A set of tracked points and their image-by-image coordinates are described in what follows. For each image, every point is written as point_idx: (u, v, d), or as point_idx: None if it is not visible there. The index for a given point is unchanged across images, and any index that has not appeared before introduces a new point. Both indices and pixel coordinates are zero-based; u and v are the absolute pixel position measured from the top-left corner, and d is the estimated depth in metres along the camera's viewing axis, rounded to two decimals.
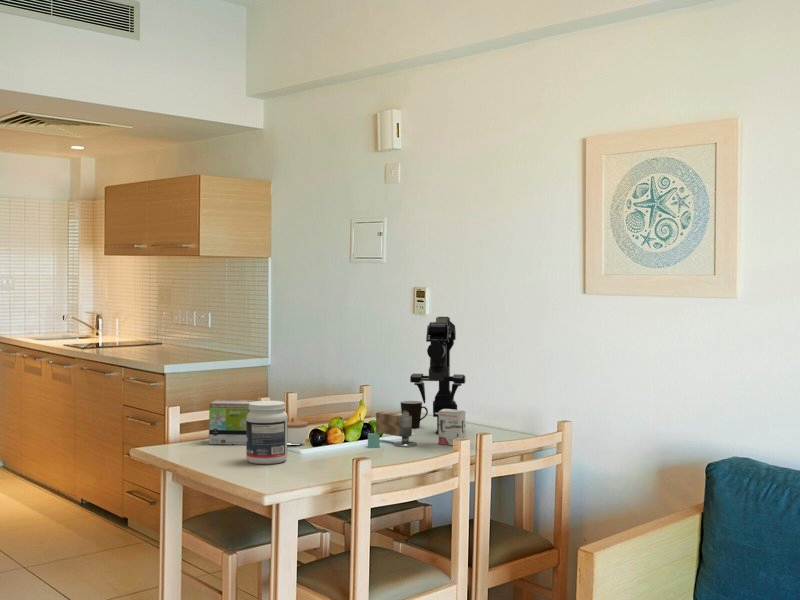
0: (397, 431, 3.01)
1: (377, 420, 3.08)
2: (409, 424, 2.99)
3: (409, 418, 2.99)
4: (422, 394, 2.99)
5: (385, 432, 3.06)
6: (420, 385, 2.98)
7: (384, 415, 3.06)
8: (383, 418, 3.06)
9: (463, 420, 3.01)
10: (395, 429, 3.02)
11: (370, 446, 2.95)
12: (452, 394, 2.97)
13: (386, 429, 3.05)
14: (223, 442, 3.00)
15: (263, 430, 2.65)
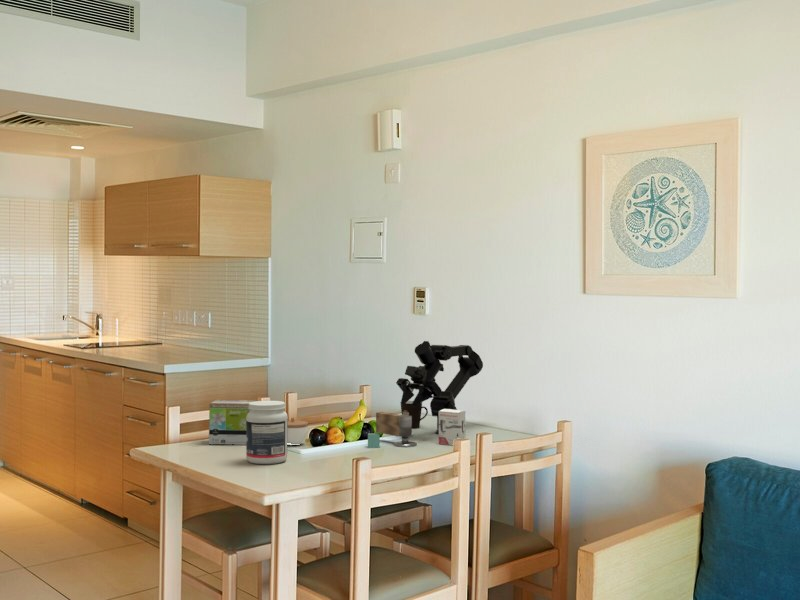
0: (397, 431, 3.01)
1: (377, 420, 3.08)
2: (409, 424, 2.99)
3: (409, 418, 2.99)
4: (403, 395, 3.14)
5: (385, 432, 3.06)
6: (404, 386, 3.15)
7: (384, 415, 3.06)
8: (383, 418, 3.06)
9: (463, 420, 3.01)
10: (395, 429, 3.02)
11: (370, 446, 2.95)
12: (416, 396, 3.09)
13: (386, 429, 3.05)
14: (223, 442, 3.00)
15: (263, 430, 2.65)
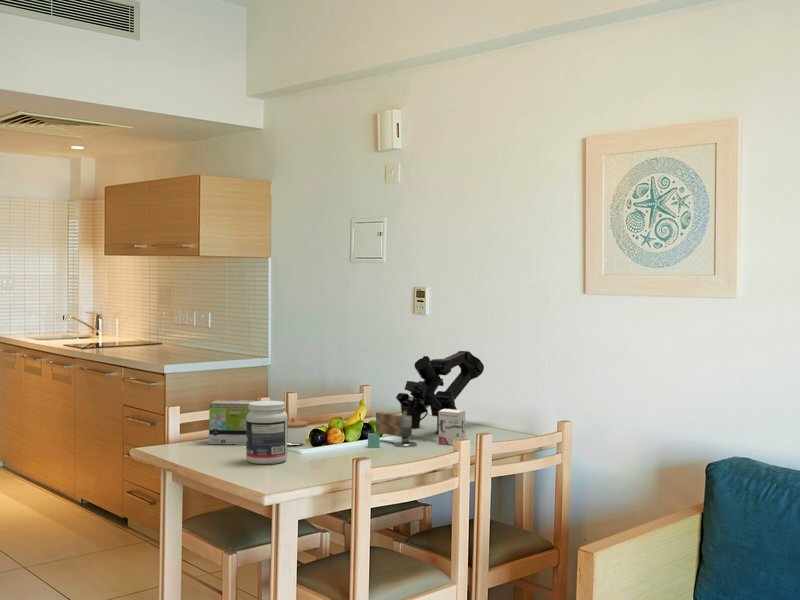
0: (397, 431, 3.01)
1: (377, 420, 3.08)
2: (409, 424, 2.99)
3: (409, 418, 2.99)
4: (408, 411, 3.12)
5: (385, 432, 3.06)
6: (409, 401, 3.13)
7: (384, 415, 3.06)
8: (383, 418, 3.06)
9: (463, 420, 3.01)
10: (395, 429, 3.02)
11: (370, 446, 2.95)
12: (411, 411, 3.11)
13: (386, 429, 3.05)
14: (223, 442, 3.00)
15: (263, 430, 2.65)
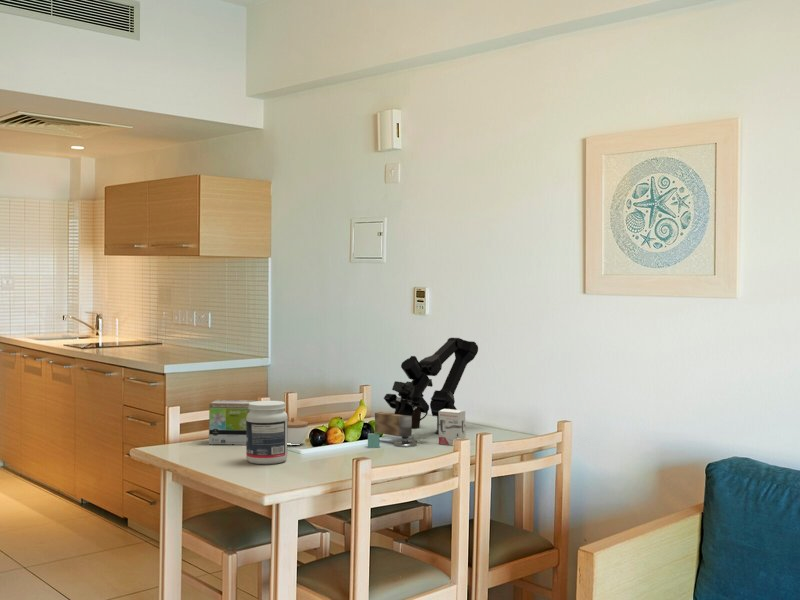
0: (397, 431, 3.01)
1: (376, 420, 3.08)
2: (409, 424, 2.99)
3: (409, 418, 2.99)
4: (395, 412, 3.08)
5: (384, 432, 3.05)
6: (397, 402, 3.09)
7: (383, 415, 3.05)
8: (382, 419, 3.06)
9: (463, 420, 3.01)
10: (395, 429, 3.02)
11: (370, 446, 2.95)
12: (399, 412, 3.07)
13: (386, 430, 3.05)
14: (223, 442, 3.00)
15: (263, 430, 2.65)
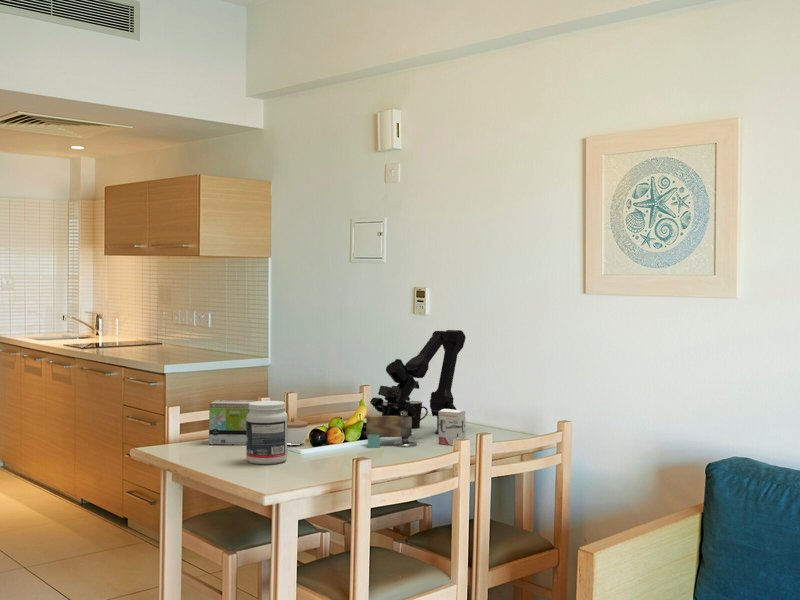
0: (398, 432, 2.99)
1: (368, 424, 2.98)
2: (411, 423, 3.00)
3: (411, 417, 3.00)
4: None
5: (380, 435, 2.99)
6: (383, 407, 3.05)
7: (379, 418, 2.98)
8: (377, 422, 2.98)
9: (463, 420, 3.01)
10: (395, 430, 2.99)
11: (370, 446, 2.95)
12: None
13: (382, 432, 2.99)
14: (223, 442, 3.00)
15: (263, 430, 2.65)
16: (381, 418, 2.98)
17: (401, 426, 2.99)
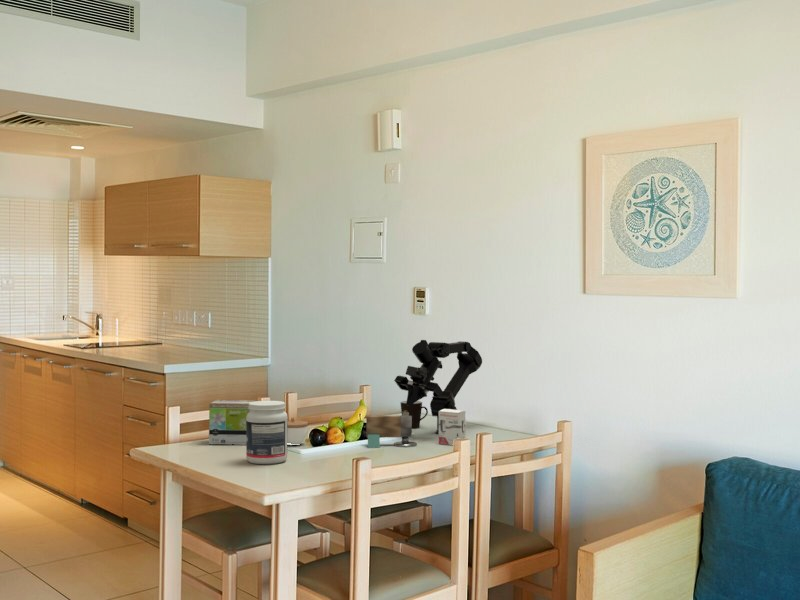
0: (398, 432, 2.99)
1: (368, 424, 2.98)
2: (411, 423, 3.00)
3: (411, 417, 3.00)
4: (408, 396, 3.12)
5: (380, 435, 2.98)
6: (409, 386, 3.13)
7: (379, 418, 2.98)
8: (377, 422, 2.98)
9: (463, 420, 3.01)
10: (395, 430, 2.99)
11: (370, 446, 2.95)
12: (412, 396, 3.11)
13: (382, 432, 2.99)
14: (223, 442, 3.00)
15: (263, 430, 2.65)
16: (381, 418, 2.98)
17: (401, 426, 2.99)
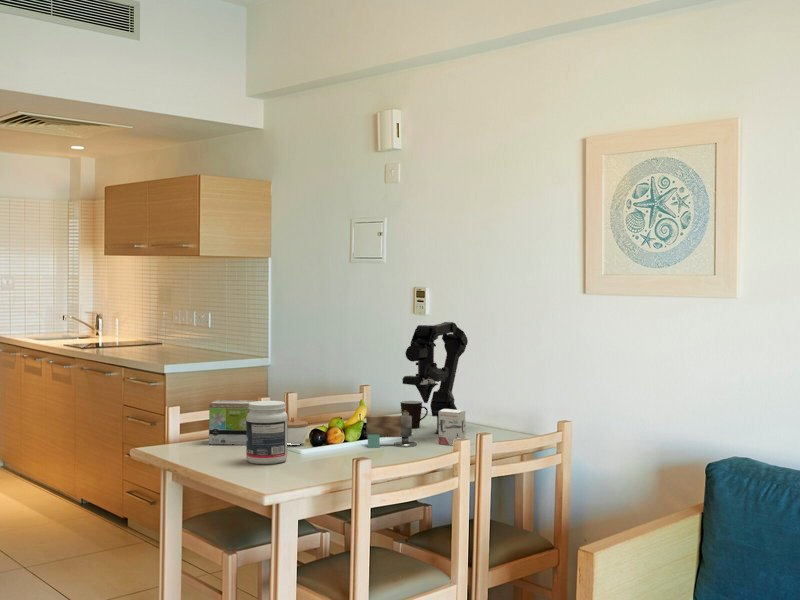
0: (398, 432, 2.99)
1: (368, 424, 2.98)
2: (411, 423, 3.00)
3: (411, 417, 3.00)
4: (426, 394, 3.12)
5: (380, 435, 2.98)
6: (428, 386, 3.11)
7: (379, 418, 2.98)
8: (377, 422, 2.98)
9: (463, 420, 3.01)
10: (395, 430, 2.99)
11: (370, 446, 2.95)
12: (429, 393, 3.13)
13: (382, 432, 2.99)
14: (223, 442, 3.00)
15: (263, 430, 2.65)
16: (381, 418, 2.98)
17: (401, 426, 2.99)
